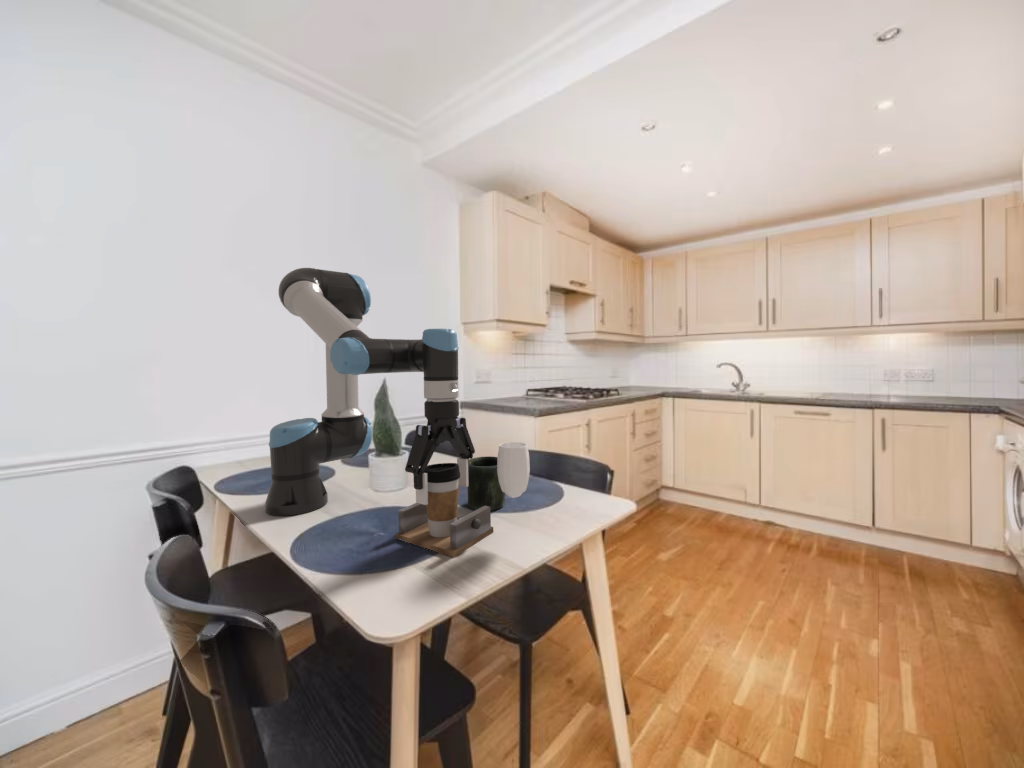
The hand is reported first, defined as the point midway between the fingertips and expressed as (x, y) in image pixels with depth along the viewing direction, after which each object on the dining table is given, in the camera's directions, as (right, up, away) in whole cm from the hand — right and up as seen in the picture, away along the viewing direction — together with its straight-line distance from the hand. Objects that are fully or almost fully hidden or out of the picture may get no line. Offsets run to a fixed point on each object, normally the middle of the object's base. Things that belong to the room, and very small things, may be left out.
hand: (443, 494), depth 92 cm
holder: (0, -9, 0) cm, 10 cm away
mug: (+9, -8, +21) cm, 24 cm away
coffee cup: (0, -9, 0) cm, 9 cm away
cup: (+16, -10, -1) cm, 19 cm away
